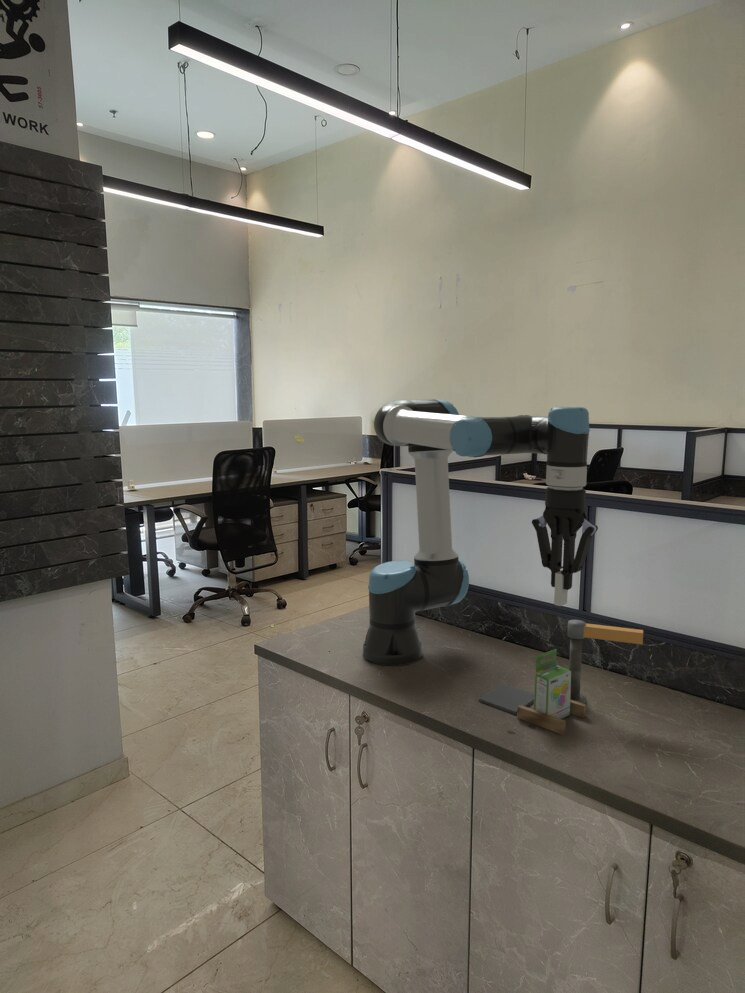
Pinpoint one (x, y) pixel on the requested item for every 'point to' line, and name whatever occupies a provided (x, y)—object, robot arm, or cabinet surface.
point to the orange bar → (603, 632)
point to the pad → (508, 698)
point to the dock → (575, 697)
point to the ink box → (552, 687)
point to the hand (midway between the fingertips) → (560, 603)
